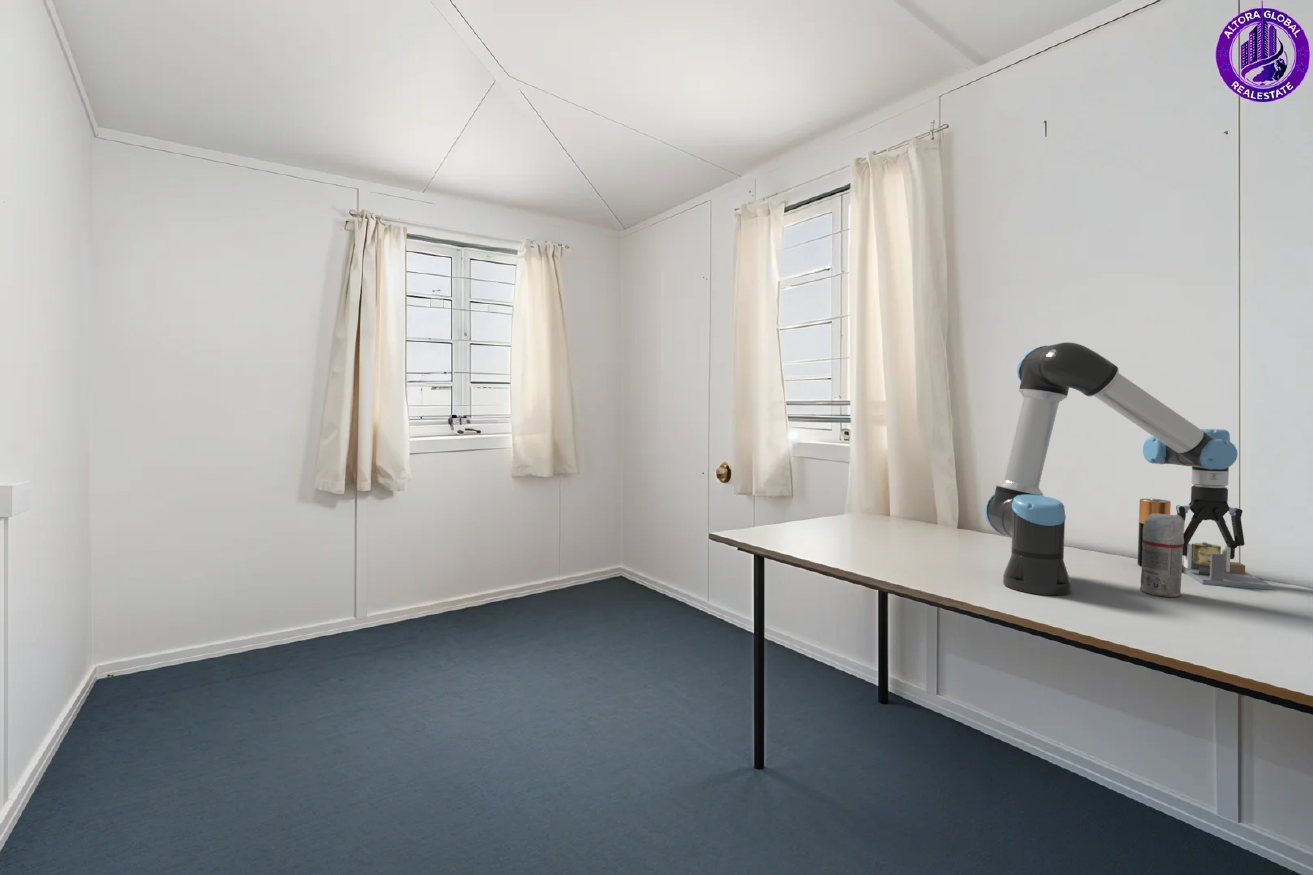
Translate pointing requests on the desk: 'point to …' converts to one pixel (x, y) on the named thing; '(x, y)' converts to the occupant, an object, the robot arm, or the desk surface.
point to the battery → (1145, 511)
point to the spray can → (1162, 555)
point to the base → (1223, 573)
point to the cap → (1204, 552)
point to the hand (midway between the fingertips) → (1206, 568)
